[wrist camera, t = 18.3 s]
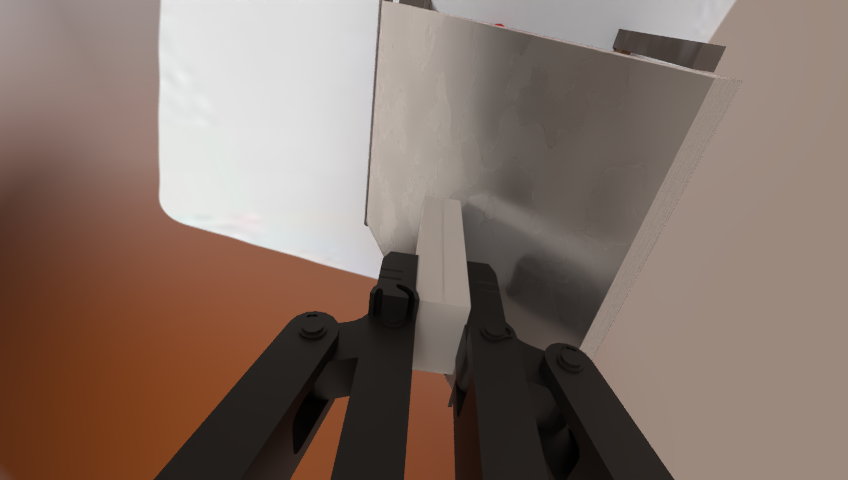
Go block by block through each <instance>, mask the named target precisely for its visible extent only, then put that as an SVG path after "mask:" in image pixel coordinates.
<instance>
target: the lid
mask: <svg viewBox="0 0 848 480" xmlns="http://www.w3.org/2000/svg"><path fill="white" fill-rule="evenodd" d="M741 83H742V81H740V80H736V79H731V78H726V77H722V76H718V75H714V74H709V73H704V72H700V71H696V70H692V69H687V68H683V67H678V66H674V65H670V64H665V63H661V62H656V61H652V60H648V59H643V58H639V57H634V56H630V55H626V54H621V53H617V52H612V51H608V50H604V49H599V48H595V47H590V46H586V45H582V44H577V43H573V42H568V41H564V40H560V39H555V38H551V37H546V36H542V35H538V34H533V33H529V32H524V31H520V30H516V29H511V28H507V27H502V26H498V25H494V24H489V23H485V22H480V21H476V20H472V19H467V18H463V17H458V16H454V15H450V14H445V13H441V12H436V11H432V10H428V9H423V8H419V7H414V6H410V5H406V4H401V3H397V2H393V0H379V12H378V27H377V42H376V57H375V71H374V86H373V101H372V116H371V131H370V146H369V161H368V175H367V190H366V205H365V220H364V224H365V225H366V226H369V228H370V230H371V232H372V234H373V236H374V238H375V240H376V242H377V244H378V246H379V248H380V250H381V252H382V254H383V256H384V257H385V256H386V255H387V254H388V253H389V252H390V251H393V252H400V253H408V254H415V255H416V248H417V242H418V236H419V229H420V223H421V217H422V211H423V204H424V198H425V195H426V196H432V197H439V198H446V199H453V200H459V201H460V202H461V212H462V222H463V232H464V242H465V252H466V261H471V262H478V263H485V264H489V265H490V266H491V268H492V269H493V270H494V271H495V273H496V275H497V280H498V285H499V290H500V295H501V300H502V305H503V310H504V315H505V320H506V322H507V323H508V324H509V325H510V326H511V327H512V328H513V329H514V331H515V333H516V335H517V338H518V339H519V340H521V341H522V342H524V343H527V344H529V345H531V346H534V347H536V348H539V349H541V350H544V351H545V350H546V348H547V347H548V346H549V345H550V344H554V343H567V344H569V345H572V346H575V347H577V348H578V349H580V350H581V351H583V352H584V353H585V354H586V355H587V356H588V357H589V358H590V359H591V360H592V359H593V358H594V356H595V354H596V352H597V350H598V349H599V347H600V345H601V343H602V341H603V339H604V337H605V336H606V334H607V332H608V330H609V328H610V326H611V324H612V322H613V321H614V319H615V317H616V315H617V313H618V311H619V309H620V308H621V305H622V304H623V302H624V300H625V298H626V297H627V295H628V293H629V291H630V289H631V287H632V285H633V284H634V282H635V280H636V278H637V276H638V274H639V272H640V271H641V269H642V267H643V265H644V263H645V261H646V259H647V257H648V256H649V254H650V252H651V250H652V248H653V246H654V245H655V243H656V241H657V239H658V237H659V235H660V233H661V231H662V230H663V228H664V226H665V224H666V222H667V220H668V218H669V217H670V215H671V213H672V211H673V209H674V207H675V205H676V204H677V202H678V200H679V198H680V196H681V194H682V193H683V191H684V189H685V187H686V185H687V183H688V181H689V179H690V178H691V176H692V174H693V172H694V170H695V168H696V167H697V165H698V163H699V161H700V159H701V157H702V155H703V154H704V152H705V150H706V148H707V146H708V144H709V142H710V140H711V139H712V137H713V135H714V133H715V131H716V129H717V127H718V126H719V124H720V122H721V120H722V118H723V116H724V115H725V113H726V111H727V109H728V107H729V105H730V103H731V102H732V100H733V98H734V96H735V94H736V92H737V90H738V89H739V87H740V85H741ZM444 376H445V378H446V380H447V382H448V384H449V385H450V387H451V390H452V389H453V386H454V382H455V379H456V367H455V368H454V371H453V375H450V374H444Z"/></svg>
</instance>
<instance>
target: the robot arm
mask: <svg viewBox="0 0 848 480" xmlns="http://www.w3.org/2000/svg"><path fill="white" fill-rule="evenodd" d="M455 367H456V379H455V382H454V386H453V389H452V393H451V397H450V400H449V405H448V407H452V405H453V418H454V454H455V480H674V478H673V477H672V476H671V474H670V473H669V471H668V470H667V469H666V467H665V466H664V464H663V463H662V462H661V460H660V458H659V457H658V455H657V454H656V453H655V451H654V450H653V448H652V447H651V446H650V444H649V442H648V441H647V440H646V438H645V437H644V435H643V434H642V432H641V431H640V429H639V428H638V427H637V425H636V424H635V422H634V421H633V419H632V418H631V416H630V415H629V414H628V412H627V411H626V409H625V408H624V406H623V405H622V404H621V402H620V401H619V399H618V398H617V396H616V395H615V393H614V392H613V391H612V389H611V388H610V386H609V385H608V383H607V382H606V380H605V379H604V378H603V376H602V375H601V373H600V372H599V371H598V369H597V368H596V366H595V365H594V364H593V362H592V360H591V359H590V358H589V357H588V356H587V355H586V354H585V353H584V352H583V351H581V350H580V349H578V348H577V347H575V346H572V345H569V344H567V343H554V344H550V345H549V346H548V347H547V348H546V350H545V351H544V350H541V349H539V348H536V347H534V346H531V345H529V344H527V343H524V342H522V341H521V340H519V339H518V338H517V335H516V333H515V331H514V329H513V328H512V327H511V326H510V325H509V324H508V323H507V322H506V320H505V315H504V310H503V305H502V300H501V295H500V290H499V285H498V280H497V275H496V273H495V271H494V270H493V269H492V268H491V266H490V265H489V264H485V263H478V262H471V261H466V252H465V242H464V232H463V222H462V212H461V202H460V201H459V200H453V199H446V198H439V197H432V196H426V195H425V198H424V204H423V211H422V217H421V223H420V229H419V236H418V242H417V248H416V255H415V254H408V253H400V252H393V251H390V252H389V253H388V254H387V255H386V256H385V257H384V258H383V261H382V265H381V270H380V274H379V279H378V283H377V285H376V286H375V287H373V289H372V291H371V292H370V300H369V311H368V314H367V315H365V316H364V317H362V318H360V319H358V320H355V321H350V322H344V323H338V322H337V321H336V320H335V319H334V317H332V316H330V315H328V314H326V313H323V312H317V311H314V312H306V313H303V314H301V315H298V316H296V317H295V318H293V319H292V320H291V321H290V322H289V323H288V324H287V325H286V326H285V328H284V329H283V330H282V331H281V332H280V333H279V335H278V336H277V337H276V338H275V339H274V340H273V342H272V343H271V344H270V345H269V346H268V347H267V349H266V350H265V351H264V352H263V353H262V354H261V356H260V357H259V358H258V359H257V360H256V361H255V363H254V364H253V365H252V366H251V367H250V368H249V369H248V371H247V372H246V373H245V374H244V375H243V376H242V378H241V379H240V380H239V381H238V382H237V383H236V385H235V386H234V387H233V388H232V389H231V390H230V392H229V393H228V394H227V395H226V396H225V397H224V399H223V400H222V401H221V402H220V403H219V404H218V406H217V407H216V408H215V409H214V410H213V411H212V412H211V414H210V415H209V416H208V417H207V418H206V419H205V421H204V422H203V423H202V424H201V425H200V427H199V428H198V429H197V430H196V431H195V432H194V433H193V435H192V436H191V437H190V438H189V439H188V440H187V441H186V443H185V444H184V445H183V446H182V447H181V448H180V450H179V451H178V452H177V453H176V454H175V455H174V457H173V458H172V459H171V460H170V461H169V463H168V464H167V465H166V466H165V467H164V468H163V469H162V471H161V472H160V473H159V474H158V475H157V476H156V478H155V479H154V480H290V479H291V477H292V475H293V473H294V472H295V470H296V468H297V466H298V465H299V463H300V461H301V459H302V457H303V456H304V454H305V452H306V450H307V449H308V447H309V445H310V443H311V441H312V440H313V438H314V436H315V434H316V433H317V431H318V429H319V427H320V426H321V424H322V422H323V420H324V418H325V417H326V415H327V413H328V411H329V410H330V407H331V406H332V404H333V402H334V400H335V398H340V397H346V396H350V397H349V401H348V406H347V410H346V414H345V419H344V423H343V428H342V432H341V436H340V441H339V445H338V449H337V454H336V459H335V462H334V467H333V471H332V476H331V480H404V469H405V457H406V443H407V430H408V418H409V404H410V390H411V378H412V370H420V371H427V372H434V373H442V374H450V375H453V371H454V368H455Z"/></svg>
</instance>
